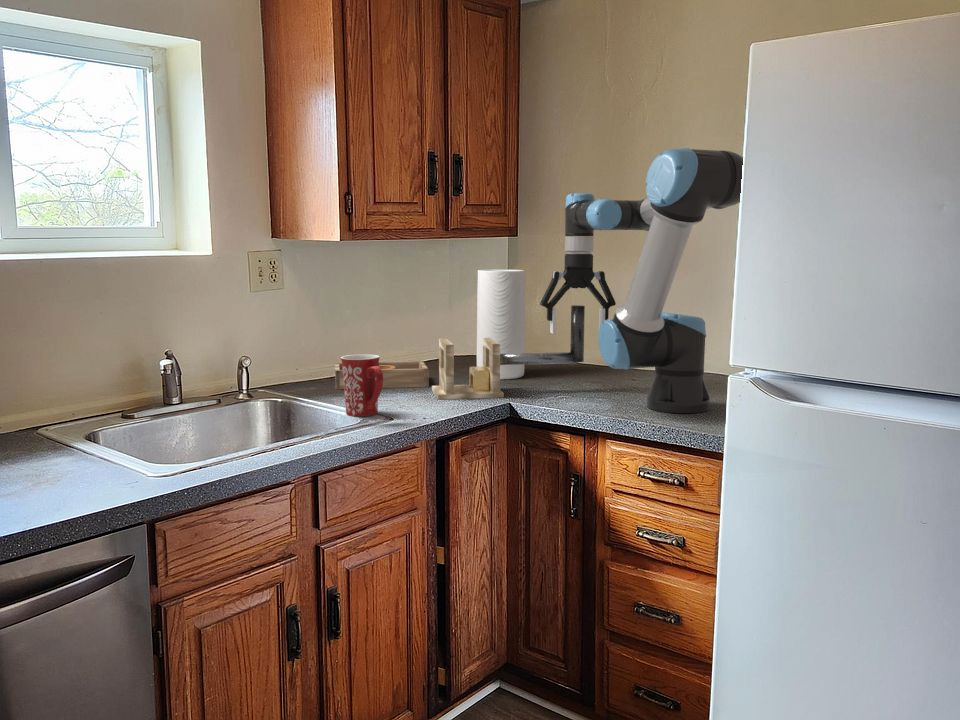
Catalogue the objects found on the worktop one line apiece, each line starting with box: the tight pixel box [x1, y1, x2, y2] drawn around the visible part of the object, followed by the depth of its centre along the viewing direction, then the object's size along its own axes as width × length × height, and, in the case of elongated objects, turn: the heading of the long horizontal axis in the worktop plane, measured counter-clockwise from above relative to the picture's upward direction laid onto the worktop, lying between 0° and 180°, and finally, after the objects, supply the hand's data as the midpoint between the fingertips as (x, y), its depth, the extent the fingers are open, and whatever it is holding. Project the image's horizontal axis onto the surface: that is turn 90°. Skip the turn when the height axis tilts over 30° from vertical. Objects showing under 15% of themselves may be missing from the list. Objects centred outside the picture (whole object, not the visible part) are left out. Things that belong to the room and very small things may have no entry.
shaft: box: [488, 304, 586, 365], centre depth 224 cm, size 26×4×16 cm, turn 100°
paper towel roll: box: [476, 269, 526, 381], centre depth 250 cm, size 14×14×32 cm
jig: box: [431, 338, 505, 400], centre depth 222 cm, size 17×14×14 cm
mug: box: [340, 353, 383, 417], centre depth 195 cm, size 13×9×14 cm
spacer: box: [469, 366, 489, 391], centre depth 223 cm, size 7×4×6 cm, turn 10°
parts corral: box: [334, 360, 430, 390], centre depth 239 cm, size 15×25×5 cm, turn 100°
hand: (577, 332), depth 226 cm, fingers open, 13 cm apart
